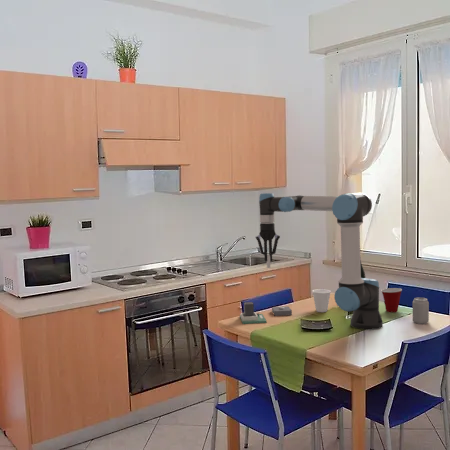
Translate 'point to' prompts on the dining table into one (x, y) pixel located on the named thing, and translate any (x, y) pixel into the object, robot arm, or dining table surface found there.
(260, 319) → the board
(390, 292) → the plastic cup
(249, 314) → the plug
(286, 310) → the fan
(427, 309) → the can
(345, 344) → the dining table surface
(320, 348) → the dining table surface
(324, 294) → the cup
